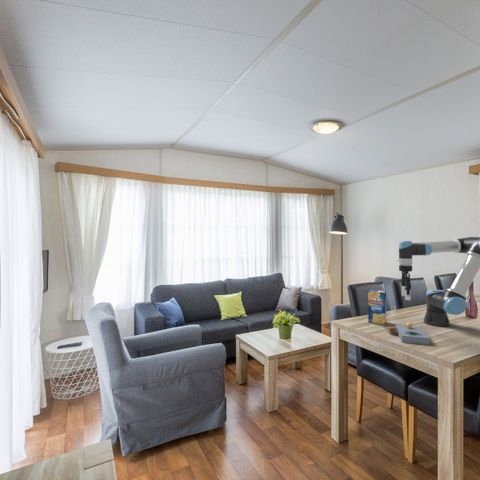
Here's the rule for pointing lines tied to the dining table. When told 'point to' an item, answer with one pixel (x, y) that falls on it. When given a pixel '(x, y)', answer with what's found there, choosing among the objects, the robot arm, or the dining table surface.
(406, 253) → the robot arm
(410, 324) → the ball
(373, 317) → the blue food box
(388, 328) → the walnut block
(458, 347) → the dining table surface
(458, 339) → the dining table surface
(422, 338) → the gray slab with hole
